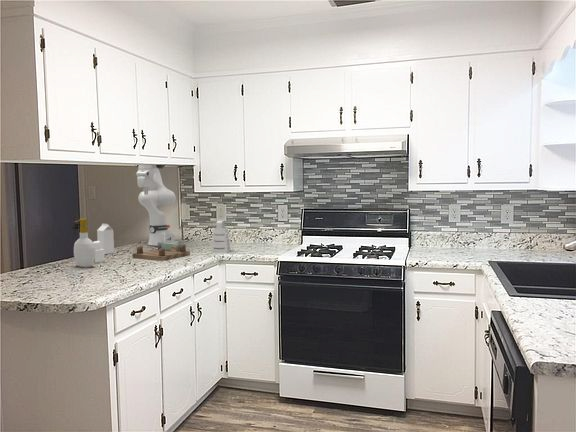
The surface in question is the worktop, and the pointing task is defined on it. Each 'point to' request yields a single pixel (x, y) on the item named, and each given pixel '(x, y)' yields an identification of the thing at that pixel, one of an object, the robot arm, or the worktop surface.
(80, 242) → the soap bottle
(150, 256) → the stool seat
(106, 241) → the milk carton
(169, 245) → the hinged leg
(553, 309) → the worktop surface
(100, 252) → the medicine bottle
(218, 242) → the grey tiered tower
